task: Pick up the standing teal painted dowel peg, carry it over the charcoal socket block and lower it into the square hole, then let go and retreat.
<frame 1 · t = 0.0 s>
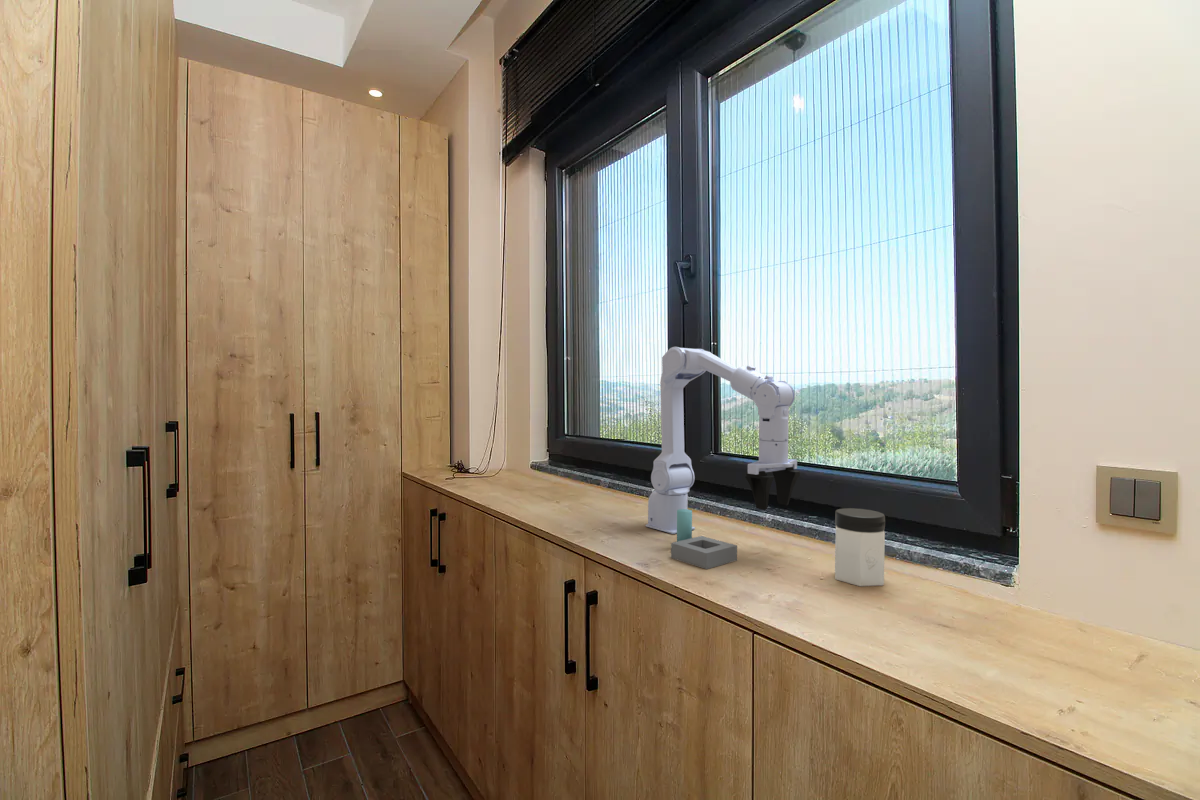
hand: (772, 506, 116), 10 cm above the worktop, fingers open, 7 cm apart
socket block: (703, 559, 113), on the worktop
peg: (684, 547, 121), on the worktop
jar: (858, 580, 102), on the worktop
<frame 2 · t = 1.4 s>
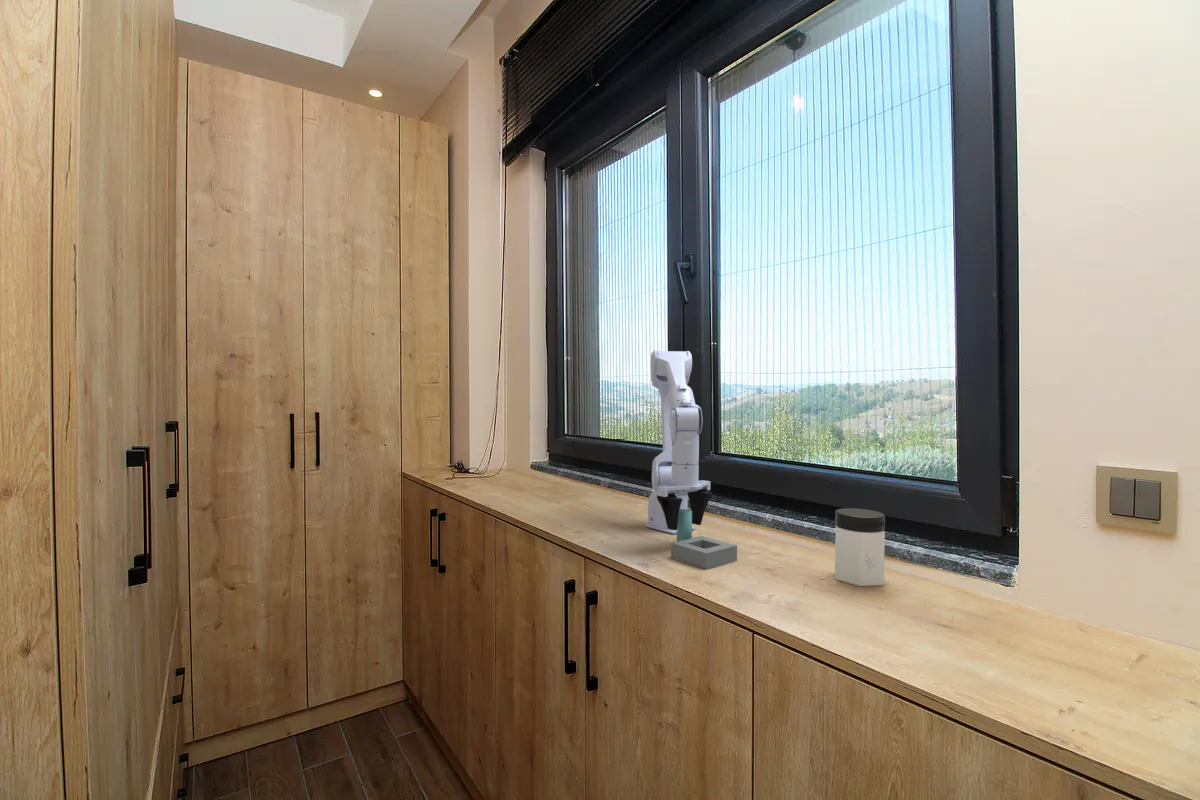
hand: (684, 526, 121), 5 cm above the worktop, fingers open, 7 cm apart
nothing on the worktop moved.
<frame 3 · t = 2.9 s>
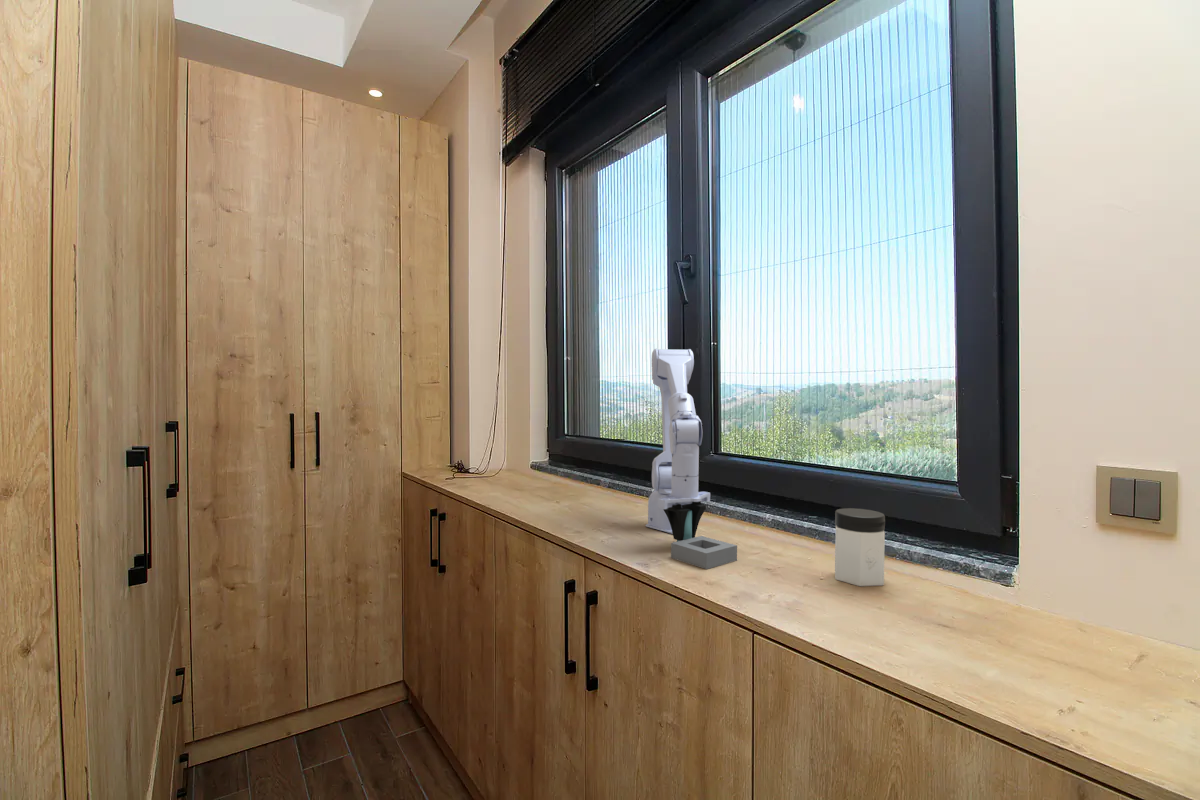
hand: (684, 538, 121), 2 cm above the worktop, fingers closed on peg, 3 cm apart
peg: (684, 547, 121), on the worktop, touching gripper
everything else where it was.
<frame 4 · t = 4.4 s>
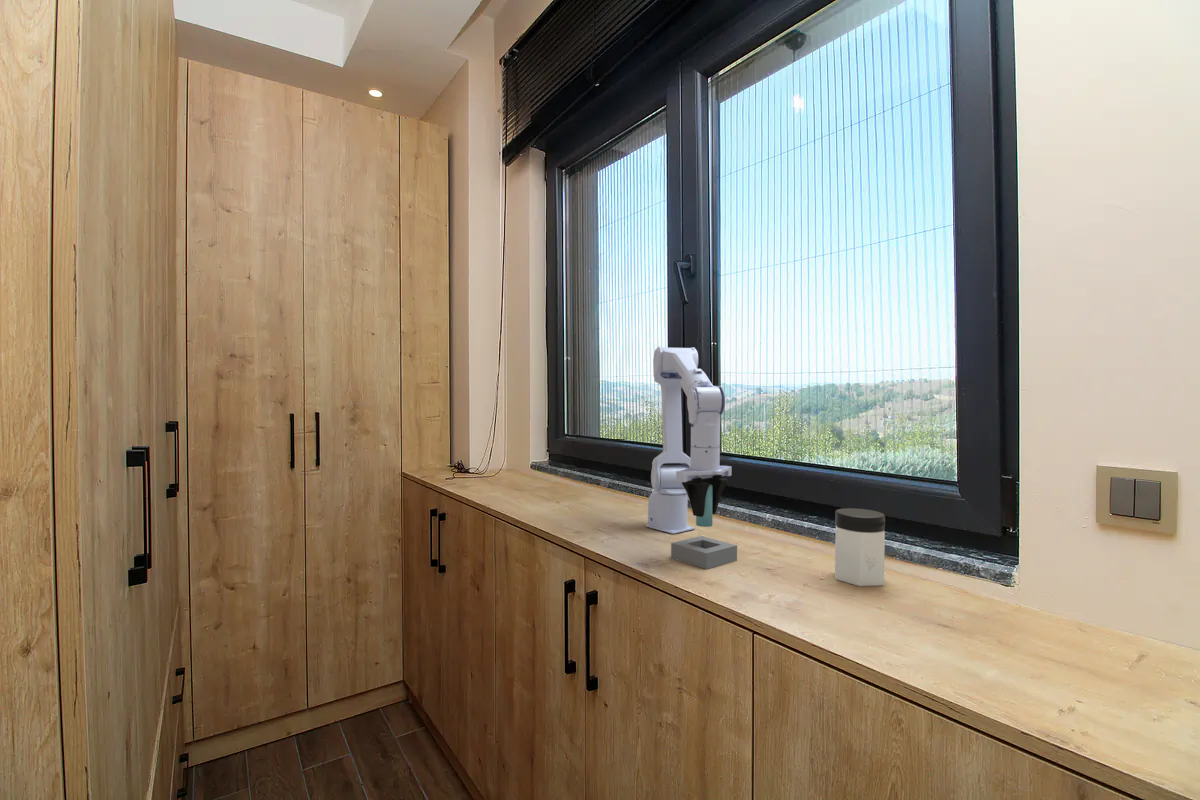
hand: (704, 514, 113), 9 cm above the worktop, fingers closed on peg, 3 cm apart
peg: (704, 524, 113), point 7 cm above the worktop, touching gripper
everything else where it was.
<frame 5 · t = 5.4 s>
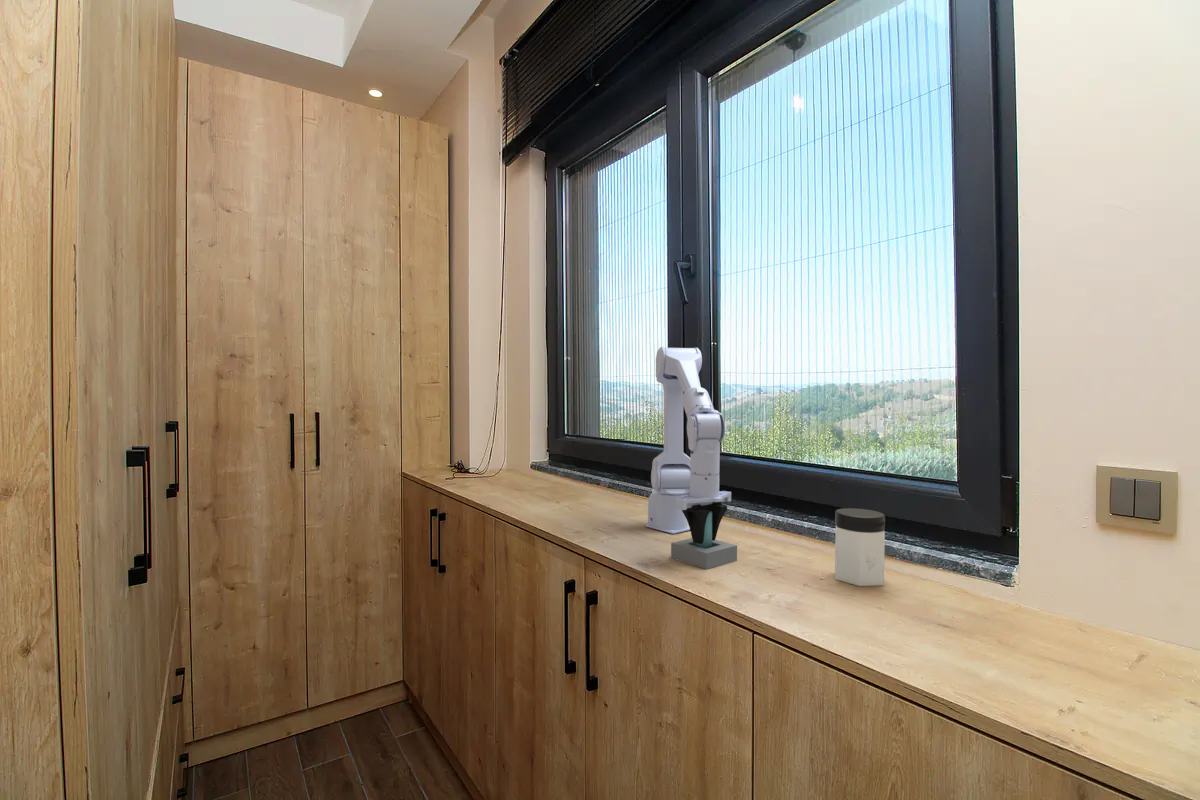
hand: (704, 541, 113), 4 cm above the worktop, fingers closed on peg, 3 cm apart
peg: (703, 551, 113), point 2 cm above the worktop, touching gripper
everything else where it was.
when the fingers open (4 cm above the worktop, at t = 6.0 s): peg drops 2 cm, resting in socket block.
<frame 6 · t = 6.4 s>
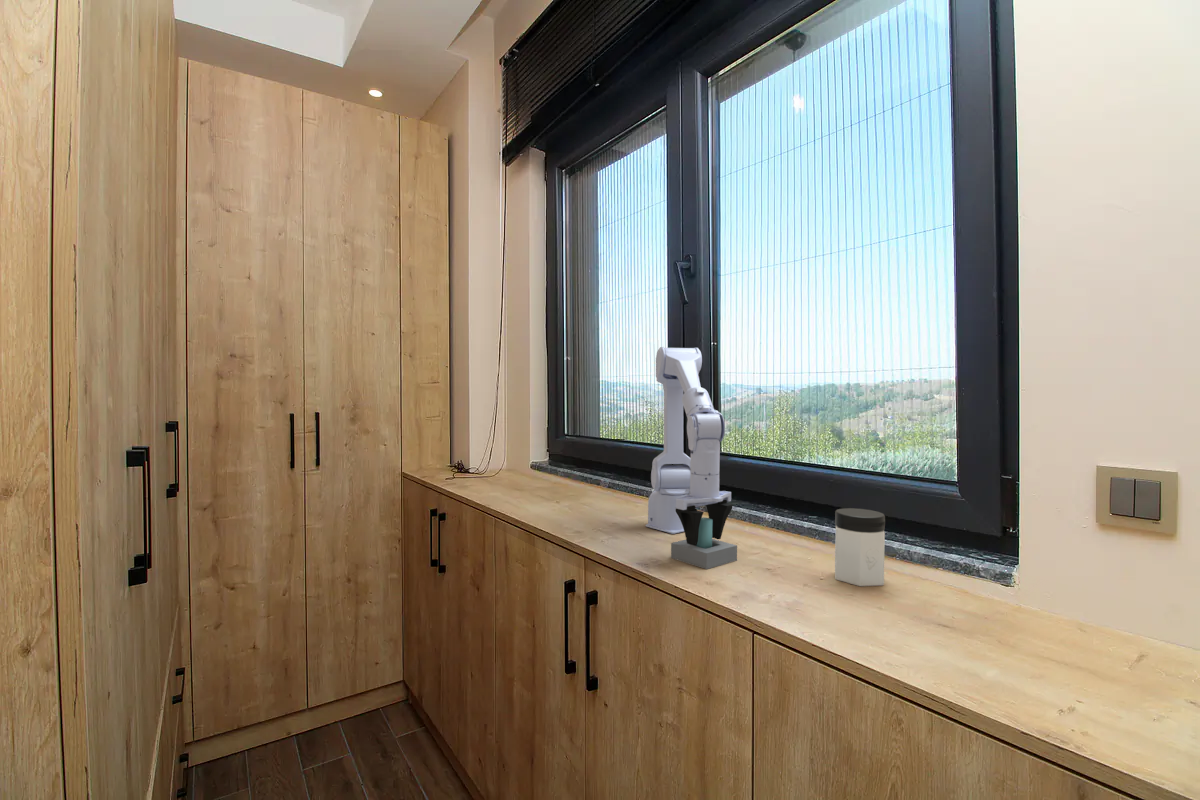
hand: (704, 541, 113), 4 cm above the worktop, fingers open, 7 cm apart
peg: (703, 559, 113), resting in socket block
everything else where it was.
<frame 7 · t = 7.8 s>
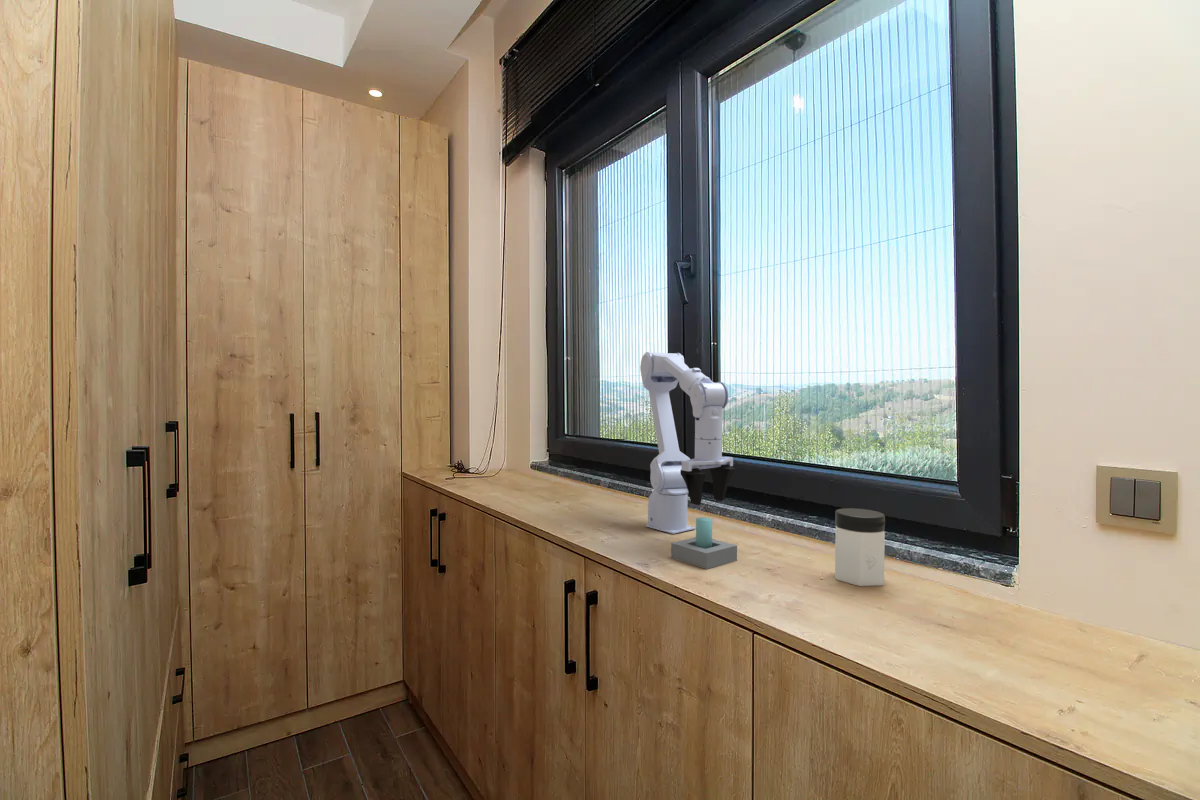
hand: (707, 502, 121), 10 cm above the worktop, fingers open, 7 cm apart
nothing on the worktop moved.
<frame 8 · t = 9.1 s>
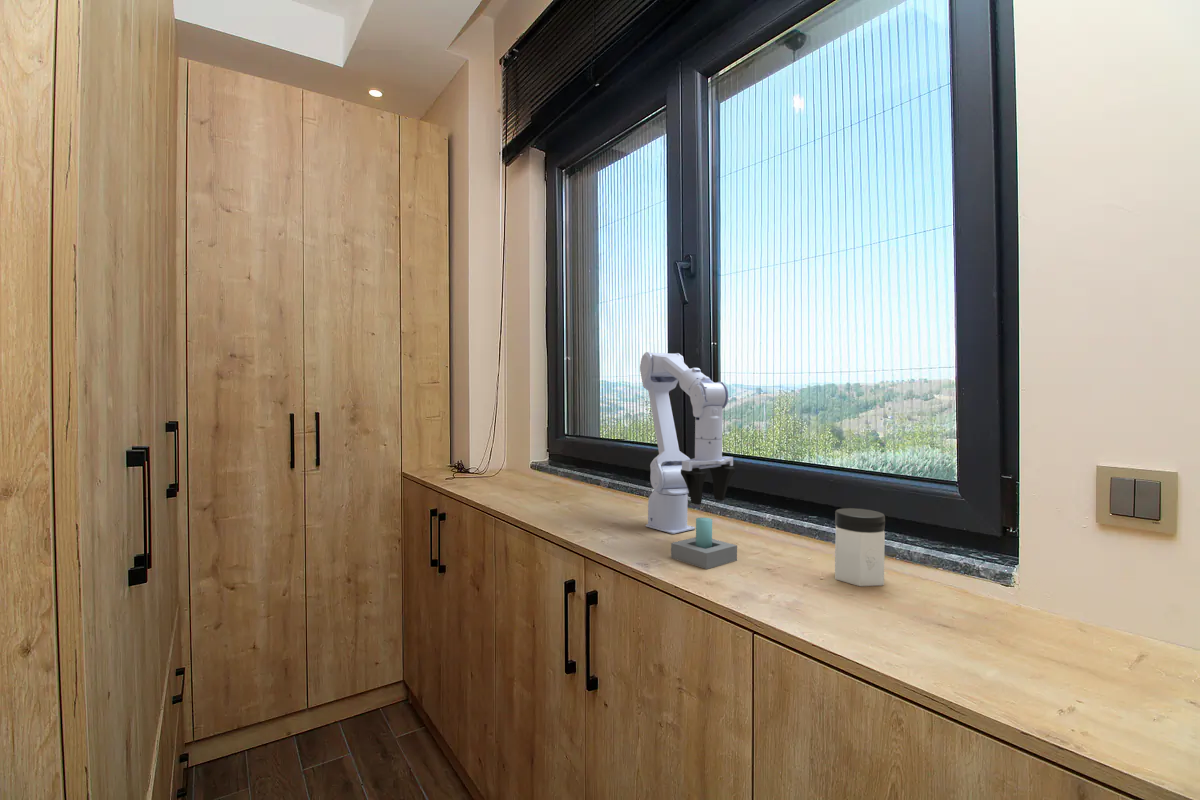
hand: (707, 501, 121), 10 cm above the worktop, fingers open, 7 cm apart
nothing on the worktop moved.
at the end: peg 0.0 cm off-centre on the socket block, point 0.0 cm above the socket block's base; peg tilted 0°; the gripper is holding nothing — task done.
